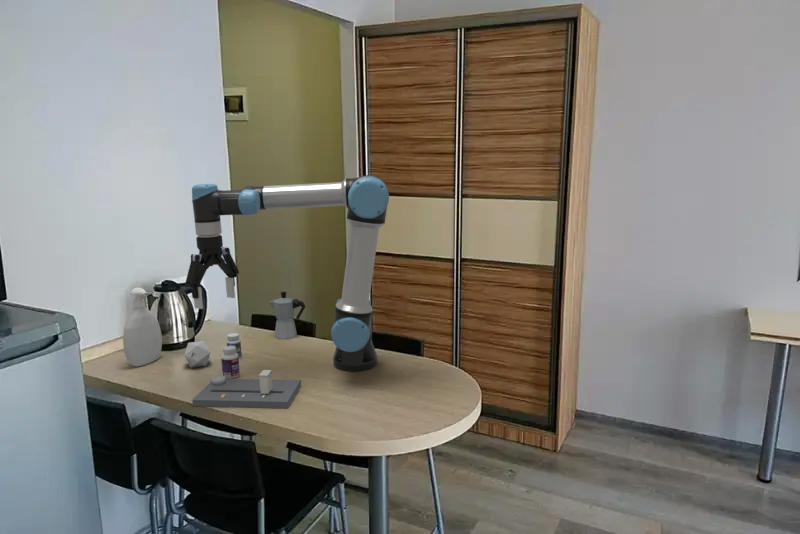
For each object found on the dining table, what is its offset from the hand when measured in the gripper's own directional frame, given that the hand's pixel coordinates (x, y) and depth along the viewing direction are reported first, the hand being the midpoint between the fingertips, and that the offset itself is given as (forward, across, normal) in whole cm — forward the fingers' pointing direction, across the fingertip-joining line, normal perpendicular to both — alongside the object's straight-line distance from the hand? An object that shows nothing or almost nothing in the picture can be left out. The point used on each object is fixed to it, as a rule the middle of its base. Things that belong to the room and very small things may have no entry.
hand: (215, 302), depth 185 cm
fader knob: (+24, +4, +22) cm, 32 cm away
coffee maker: (+26, -45, -9) cm, 53 cm away
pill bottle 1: (+26, -18, -12) cm, 34 cm away
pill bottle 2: (+26, -4, 0) cm, 27 cm away
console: (+26, +5, +15) cm, 31 cm away
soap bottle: (+26, 0, -36) cm, 44 cm away
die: (+26, -7, -18) cm, 32 cm away
